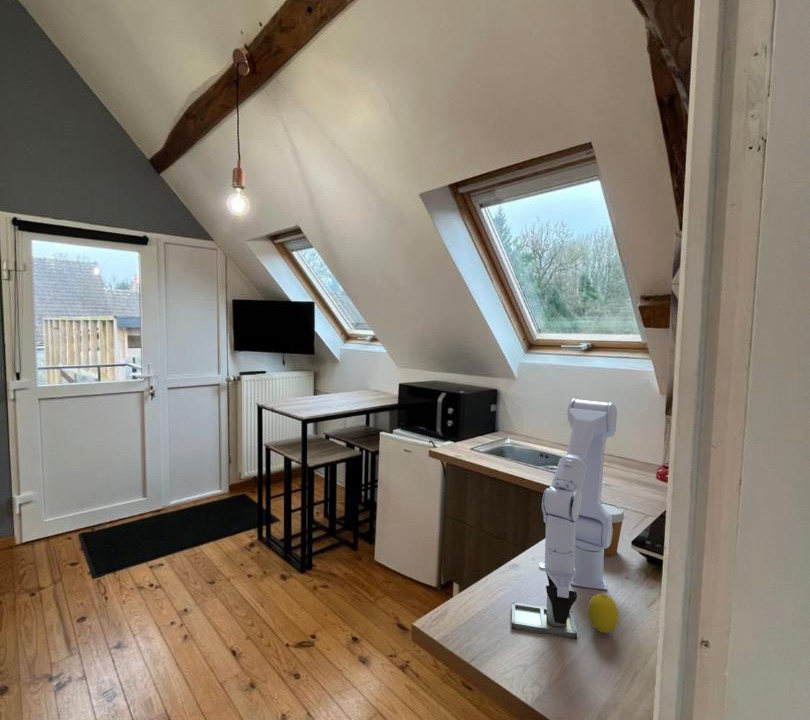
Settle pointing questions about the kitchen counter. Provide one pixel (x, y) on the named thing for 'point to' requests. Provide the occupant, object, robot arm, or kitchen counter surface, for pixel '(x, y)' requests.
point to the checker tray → (539, 621)
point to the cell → (550, 616)
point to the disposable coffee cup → (614, 526)
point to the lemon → (603, 613)
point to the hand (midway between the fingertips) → (557, 610)
